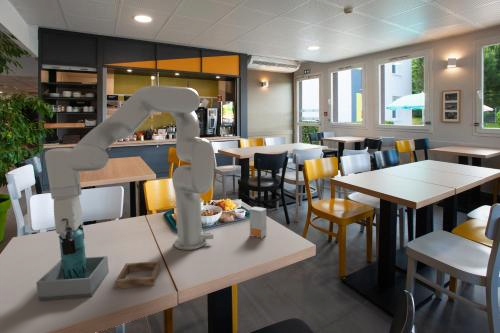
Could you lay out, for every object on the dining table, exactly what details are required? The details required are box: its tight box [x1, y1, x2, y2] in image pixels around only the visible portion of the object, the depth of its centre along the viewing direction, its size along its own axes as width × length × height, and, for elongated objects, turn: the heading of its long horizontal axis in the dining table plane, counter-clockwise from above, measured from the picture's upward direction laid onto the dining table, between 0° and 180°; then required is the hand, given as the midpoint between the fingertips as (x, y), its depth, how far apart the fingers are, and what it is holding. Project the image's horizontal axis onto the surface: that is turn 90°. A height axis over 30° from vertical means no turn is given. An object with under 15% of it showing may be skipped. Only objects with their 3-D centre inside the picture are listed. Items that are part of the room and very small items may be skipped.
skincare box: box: [249, 206, 267, 239], centre depth 126 cm, size 6×4×12 cm
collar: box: [114, 260, 161, 290], centre depth 95 cm, size 11×11×2 cm
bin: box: [36, 255, 110, 302], centre depth 91 cm, size 14×14×6 cm
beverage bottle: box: [58, 228, 88, 280], centre depth 89 cm, size 6×7×20 cm
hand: (74, 246), depth 90 cm, fingers open, 9 cm apart
